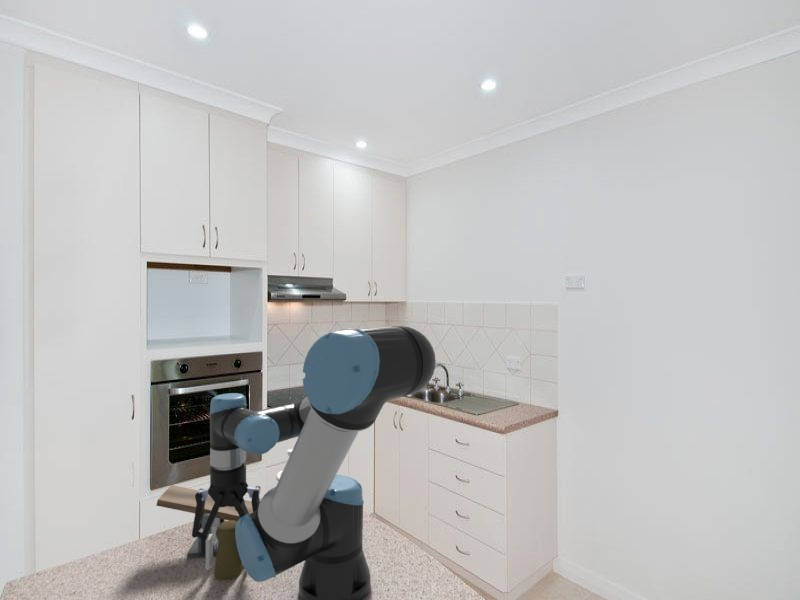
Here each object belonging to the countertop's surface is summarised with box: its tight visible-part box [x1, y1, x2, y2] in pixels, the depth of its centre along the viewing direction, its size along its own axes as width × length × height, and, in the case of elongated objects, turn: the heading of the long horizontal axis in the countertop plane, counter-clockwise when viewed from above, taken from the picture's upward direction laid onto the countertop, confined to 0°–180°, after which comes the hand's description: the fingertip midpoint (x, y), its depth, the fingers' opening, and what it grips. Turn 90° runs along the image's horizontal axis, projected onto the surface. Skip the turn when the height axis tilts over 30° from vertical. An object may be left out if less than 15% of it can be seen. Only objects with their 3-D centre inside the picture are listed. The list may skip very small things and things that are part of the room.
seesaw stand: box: [186, 514, 226, 559], centre depth 111 cm, size 12×8×10 cm
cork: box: [213, 520, 244, 581], centre depth 100 cm, size 6×6×11 cm
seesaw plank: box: [155, 484, 253, 521], centre depth 111 cm, size 9×24×2 cm, turn 97°
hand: (228, 564), depth 100 cm, fingers open, 8 cm apart
